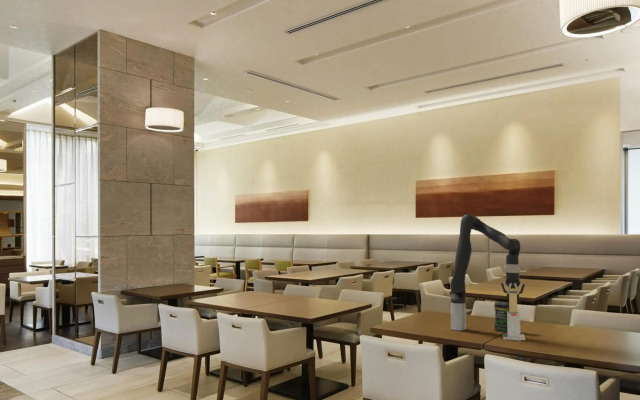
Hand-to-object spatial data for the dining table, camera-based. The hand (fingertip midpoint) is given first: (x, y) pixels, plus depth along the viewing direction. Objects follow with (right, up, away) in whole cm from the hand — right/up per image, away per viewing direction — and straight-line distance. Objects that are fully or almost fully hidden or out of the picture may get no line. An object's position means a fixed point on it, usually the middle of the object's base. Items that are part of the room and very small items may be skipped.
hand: (513, 300), depth 288 cm
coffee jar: (+1, -24, +18) cm, 30 cm away
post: (0, -16, -1) cm, 16 cm away
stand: (0, -22, -1) cm, 22 cm away
